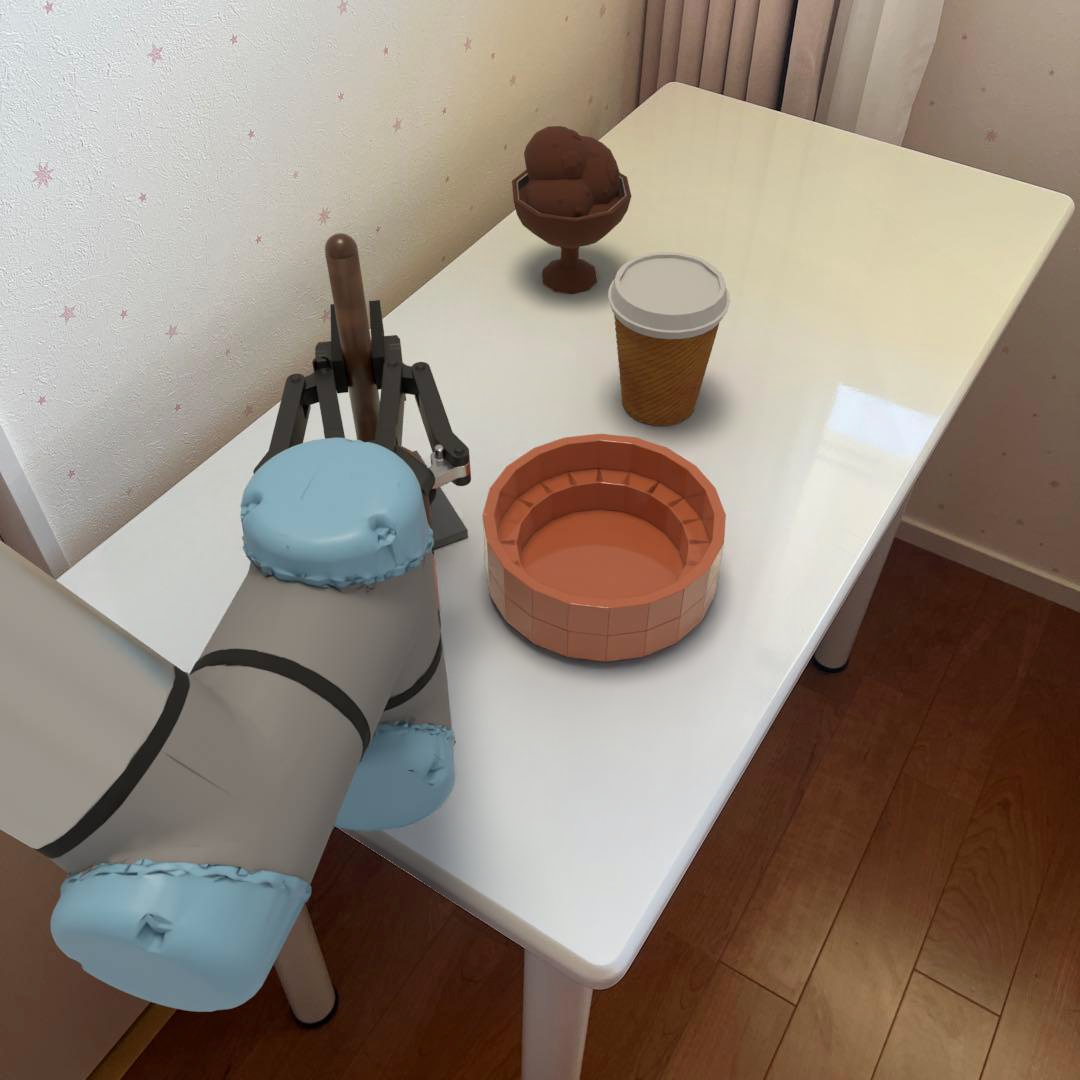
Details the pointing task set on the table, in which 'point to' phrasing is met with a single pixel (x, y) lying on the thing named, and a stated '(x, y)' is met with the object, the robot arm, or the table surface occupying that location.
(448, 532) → the dark grey square tile
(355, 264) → the paper towel holder
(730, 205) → the table surface
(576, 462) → the terracotta round bowl
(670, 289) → the disposable coffee cup
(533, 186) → the ice cream bowl
